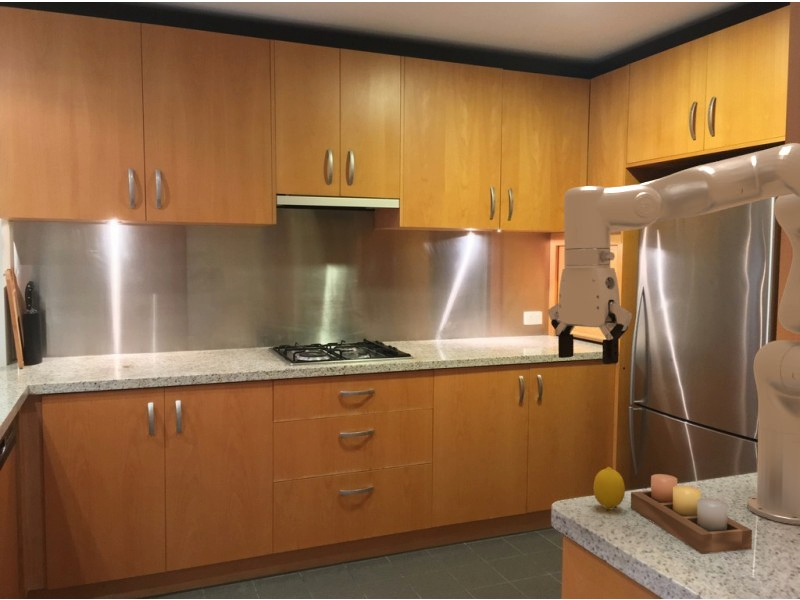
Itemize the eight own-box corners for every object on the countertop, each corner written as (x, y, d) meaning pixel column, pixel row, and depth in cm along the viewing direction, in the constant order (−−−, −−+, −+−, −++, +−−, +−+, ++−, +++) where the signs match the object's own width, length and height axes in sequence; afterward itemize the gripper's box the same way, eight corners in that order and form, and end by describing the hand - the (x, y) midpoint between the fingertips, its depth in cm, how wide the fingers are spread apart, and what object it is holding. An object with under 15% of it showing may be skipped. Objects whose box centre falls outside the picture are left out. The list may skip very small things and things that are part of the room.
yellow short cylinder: (689, 509, 113) (690, 484, 112) (706, 518, 108) (706, 492, 108) (667, 511, 112) (667, 486, 111) (683, 520, 107) (683, 494, 107)
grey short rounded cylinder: (714, 523, 106) (715, 497, 106) (733, 533, 102) (733, 506, 102) (691, 525, 105) (691, 499, 105) (709, 535, 101) (709, 508, 101)
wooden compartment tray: (673, 504, 121) (674, 488, 121) (751, 548, 101) (752, 530, 101) (630, 507, 119) (630, 492, 119) (701, 553, 99) (701, 534, 99)
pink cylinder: (667, 496, 119) (667, 473, 119) (682, 505, 115) (682, 480, 114) (646, 498, 118) (646, 474, 118) (660, 506, 114) (660, 482, 114)
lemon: (626, 516, 115) (627, 472, 114) (594, 514, 116) (595, 470, 116) (622, 505, 120) (622, 463, 120) (591, 503, 121) (592, 462, 121)
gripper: (644, 258, 103) (644, 363, 104) (564, 261, 117) (564, 353, 118) (614, 258, 99) (614, 368, 100) (534, 261, 113) (535, 356, 114)
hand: (587, 360), depth 109 cm, fingers open, 9 cm apart
